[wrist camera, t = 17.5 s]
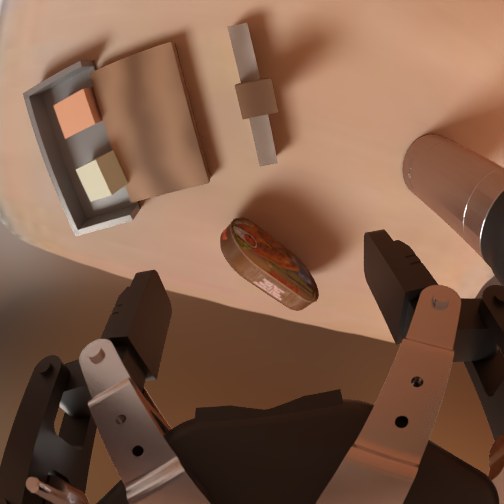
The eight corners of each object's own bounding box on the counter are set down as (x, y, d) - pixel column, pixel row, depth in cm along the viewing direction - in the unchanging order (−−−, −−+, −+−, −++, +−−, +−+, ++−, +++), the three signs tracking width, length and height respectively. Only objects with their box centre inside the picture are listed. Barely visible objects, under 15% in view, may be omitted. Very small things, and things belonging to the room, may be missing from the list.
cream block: (113, 149, 32) (95, 159, 30) (128, 183, 34) (111, 195, 32) (92, 159, 34) (75, 169, 32) (106, 190, 37) (90, 201, 34)
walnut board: (174, 43, 28) (171, 41, 26) (210, 177, 37) (208, 182, 35) (96, 72, 29) (89, 73, 27) (136, 196, 38) (131, 203, 36)
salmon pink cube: (94, 86, 29) (83, 88, 27) (105, 119, 32) (95, 123, 29) (65, 102, 30) (53, 105, 27) (76, 133, 32) (65, 138, 30)
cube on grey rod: (251, 26, 28) (254, 7, 19) (279, 155, 36) (291, 183, 27) (224, 31, 28) (217, 15, 19) (254, 160, 36) (258, 189, 28)
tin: (314, 271, 45) (326, 310, 38) (298, 284, 46) (307, 324, 39) (234, 206, 39) (232, 240, 32) (218, 223, 40) (213, 259, 33)
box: (93, 60, 28) (80, 60, 25) (140, 208, 39) (132, 220, 36) (38, 90, 29) (22, 93, 26) (86, 224, 39) (75, 236, 36)
